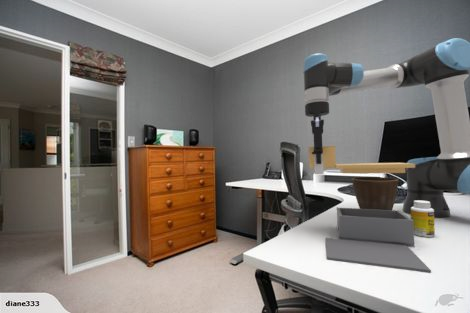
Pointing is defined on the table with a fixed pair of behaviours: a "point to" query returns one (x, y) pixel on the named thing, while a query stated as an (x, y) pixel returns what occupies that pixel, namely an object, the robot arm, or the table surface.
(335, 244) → the grey rubber mat
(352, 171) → the amber lid
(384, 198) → the plant pot
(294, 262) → the table surface
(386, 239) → the charcoal tub
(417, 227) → the supplement bottle
